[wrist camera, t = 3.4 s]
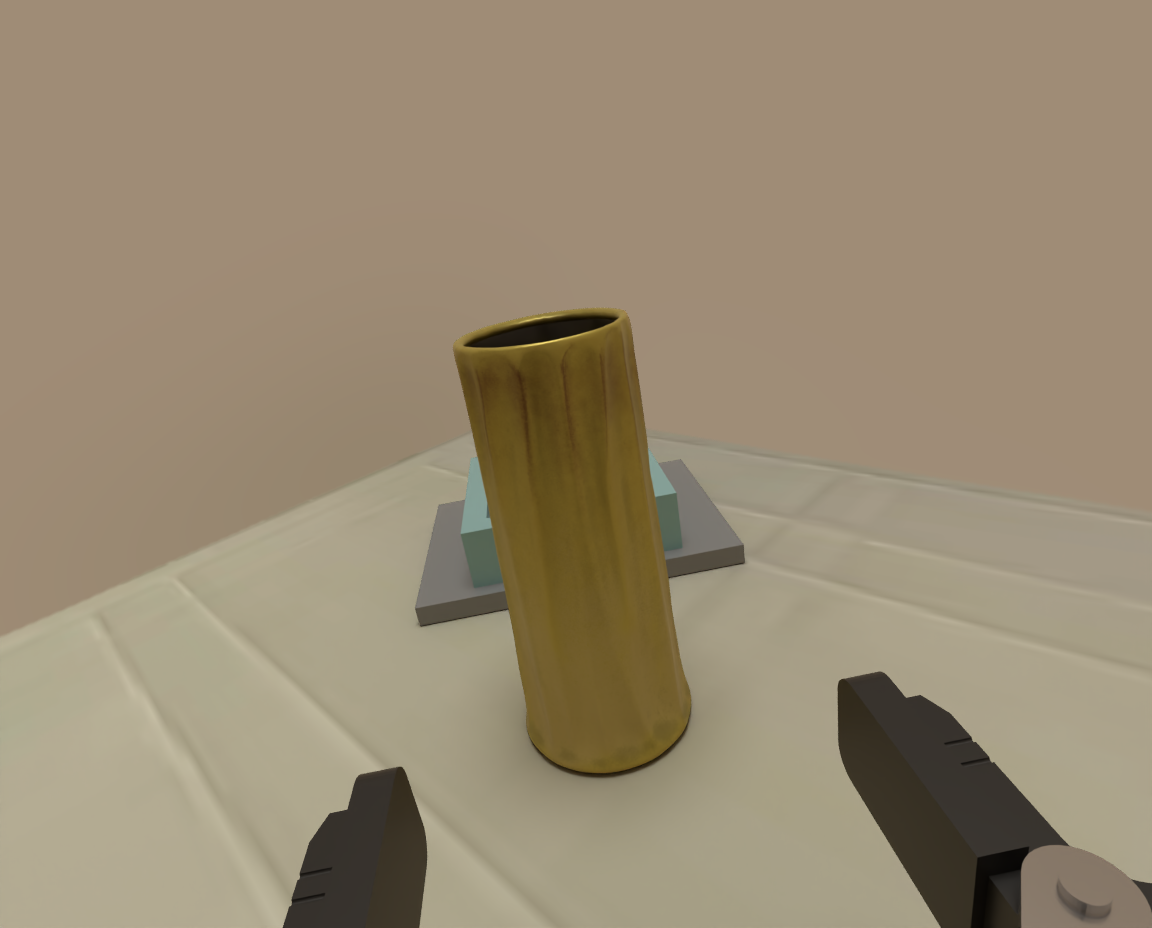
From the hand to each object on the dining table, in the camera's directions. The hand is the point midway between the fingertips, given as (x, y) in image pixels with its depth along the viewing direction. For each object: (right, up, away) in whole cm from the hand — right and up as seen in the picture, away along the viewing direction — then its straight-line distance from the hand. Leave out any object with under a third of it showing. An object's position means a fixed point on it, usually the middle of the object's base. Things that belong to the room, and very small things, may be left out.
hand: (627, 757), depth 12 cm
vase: (0, -4, +12) cm, 13 cm away
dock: (-1, +1, +25) cm, 25 cm away
